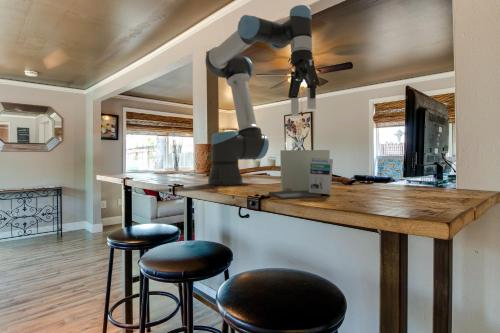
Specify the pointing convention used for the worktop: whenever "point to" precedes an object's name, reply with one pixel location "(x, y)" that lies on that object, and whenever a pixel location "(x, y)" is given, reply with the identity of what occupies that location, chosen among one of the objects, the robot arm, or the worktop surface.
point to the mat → (294, 194)
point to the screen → (298, 168)
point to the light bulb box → (320, 175)
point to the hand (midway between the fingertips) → (302, 112)
